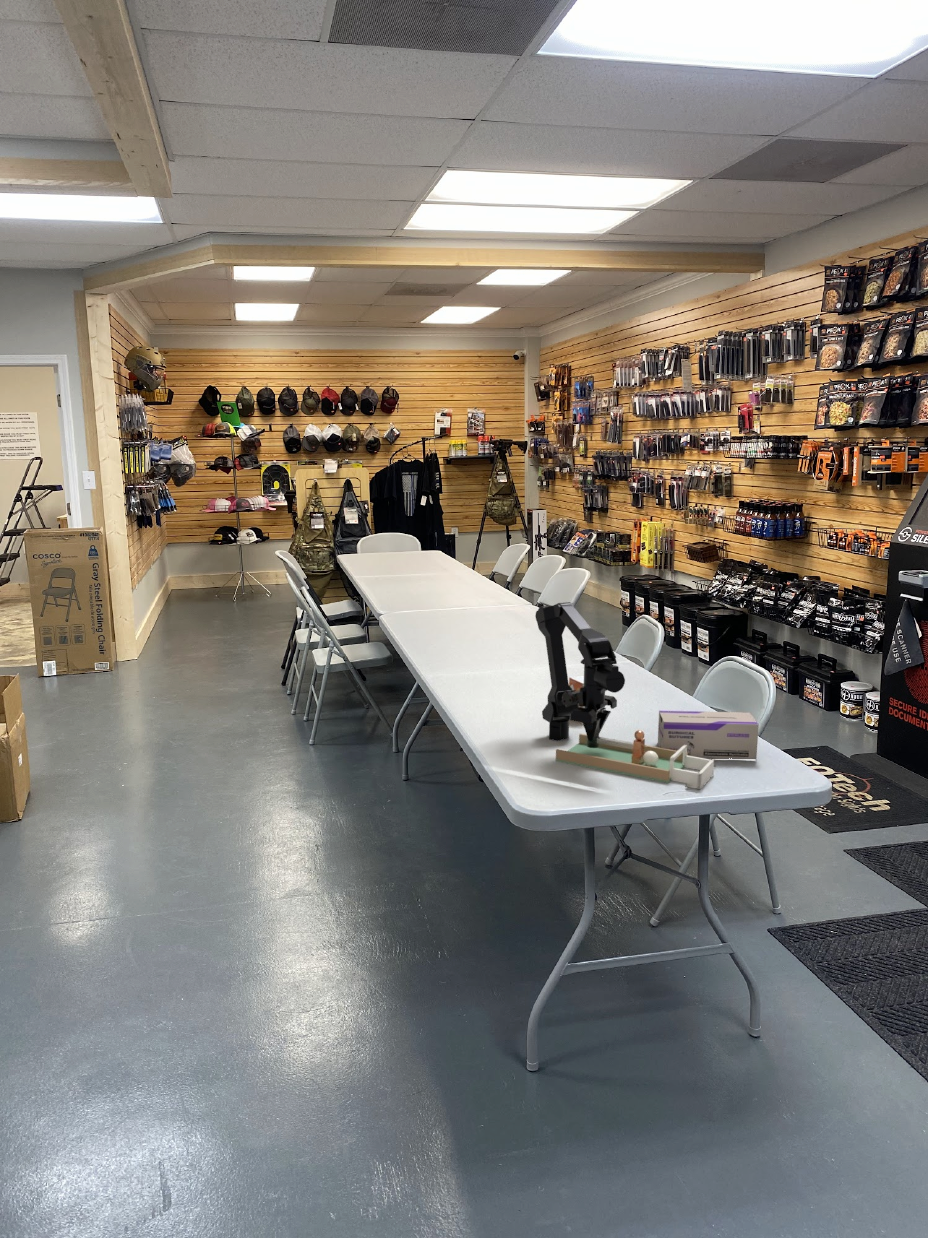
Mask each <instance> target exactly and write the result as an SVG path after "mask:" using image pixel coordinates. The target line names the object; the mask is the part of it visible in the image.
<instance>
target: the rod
mask: <svg viewBox="0 0 928 1238" xmlns="http://www.w3.org/2000/svg"><path fill="white" fill-rule="evenodd" d="M633 735H634V738H635V739H633V741H625V740H619V739H613V738H608V737H602V736H600V733H599V725H598V727H597V730H596V733H595V736H594V738H593V741H589V740H588V738H587V747H589V748H598V747H599V744H604V745H610V746H616V747H621V748H627V749H632V750H633V755H632V761H631V763H633V764H639V765H640V764H641V763H642V762H643V755H644V754H645V753H646V751H644V748H645V745H646V744H645V742H646V739H645V732H644V731H642V730H639V729H638V730H635V732H634V734H633Z"/></svg>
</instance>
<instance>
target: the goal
mask: <svg viewBox="0 0 928 1238" xmlns="http://www.w3.org/2000/svg"><path fill="white" fill-rule="evenodd" d="M682 752H683V764H682V765H684V768H687V769H694V770H698V771H693V770H687V769H677V768H674V760H675V759H676V758H677V757H678V756H679V755H680V754H681V753H682ZM714 769H715V760H711V758H710V759H709V758H705V757H700V756H688V755H687V745H683V746H682V747H681V748H680V749H679V750H678V751H677V752H676V753H675V754H674V755H672V756H671V757H670V769H669V770H670V775H669V778H671V781H674V782H679V783H685V784H686V785H685V786H684V787H686V788H692V789H695V788H697V790H701V789H702V788H703V787H704V786H705V785H706V784H707V783H708V781H709V780H711V778H712V777H713V776H714V772H715V771H714ZM698 772H699V773H698ZM712 775H713V776H712ZM711 776H712V777H711ZM710 777H711V778H710ZM706 782H707V783H706ZM705 783H706V784H705ZM704 784H705V785H704ZM703 785H704V786H703Z"/></svg>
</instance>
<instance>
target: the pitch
mask: <svg viewBox="0 0 928 1238" xmlns="http://www.w3.org/2000/svg"><path fill="white" fill-rule="evenodd" d="M644 751H646V752H647V751H654V752H655V753H656V754H657V755H658V762H657V764H656V765H654V766H648V765H646V764H645V763H644V761H643V762H642V763H641V764H640V765H639V764H633V763H631V761H632V755H633V750H632V749H627V748H621V747H616V746H610V745H604V744H599V747H598V748H589V747H587V734H586V733H585V734H584V733H579V735H578V743H577V744H576V745H574V746H572V747H571V748H570V749H568V750H562V749H558V748H557V749H556V750H555V761H556V762H560V763H565V764H570V765H574V766H581V767H585V768H590V769H595V770H600V771H606V772H611V773H616V774H621V775H626V776H631V777H636V778H641V779H647V780H651V781H652V780H653V781H656V782H661V783H667V784H669V783H670V782H671V781H672V780H671V778H669V775H670V770H669V769H670V757H671V756H672V755H674V754H675V753H676V752H677V751H676V750H670V749H664V748H660V747H659V746H651V745H647V744H645V748H644ZM687 755H688V753H687ZM682 764H683V752H682V753H681V754H680V755H679V756H678V757H677V758H676V759H675V760H674V768H677V769H682V770H684V768H685V767H684V765H682Z"/></svg>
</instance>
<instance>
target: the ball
mask: <svg viewBox="0 0 928 1238" xmlns="http://www.w3.org/2000/svg"><path fill="white" fill-rule="evenodd" d="M643 761H644V763H645V764H646V765H648V766H654V765H656V764H657V762H658V755H657V754H656V753H655V752H654V751H647V752H646V753H645V754H644V755H643Z"/></svg>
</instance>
